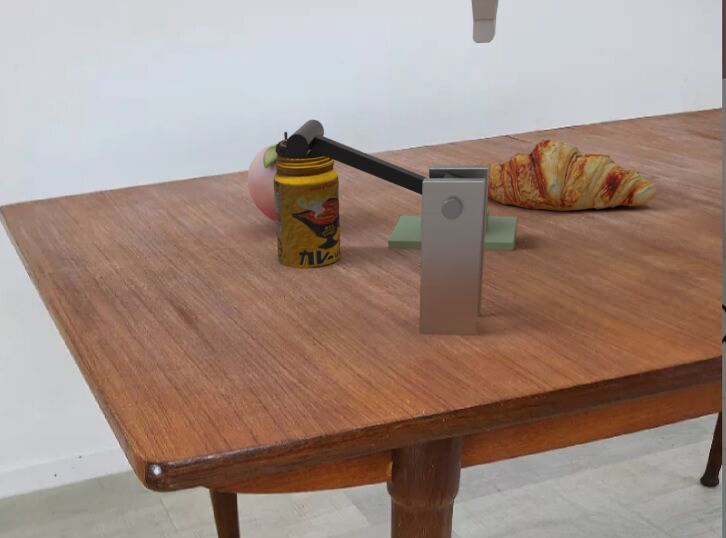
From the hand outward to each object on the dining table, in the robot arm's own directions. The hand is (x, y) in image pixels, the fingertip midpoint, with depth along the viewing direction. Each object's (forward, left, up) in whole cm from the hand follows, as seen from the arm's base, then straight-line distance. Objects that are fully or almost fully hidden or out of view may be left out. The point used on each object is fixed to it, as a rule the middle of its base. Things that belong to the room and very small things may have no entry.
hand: (484, 41), depth 84 cm
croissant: (-8, -19, -19) cm, 28 cm away
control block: (+2, -1, -19) cm, 19 cm away
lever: (+6, +23, -7) cm, 25 cm away
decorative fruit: (+21, -8, -19) cm, 29 cm away
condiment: (+16, +7, -19) cm, 26 cm away
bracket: (0, +23, -19) cm, 30 cm away
